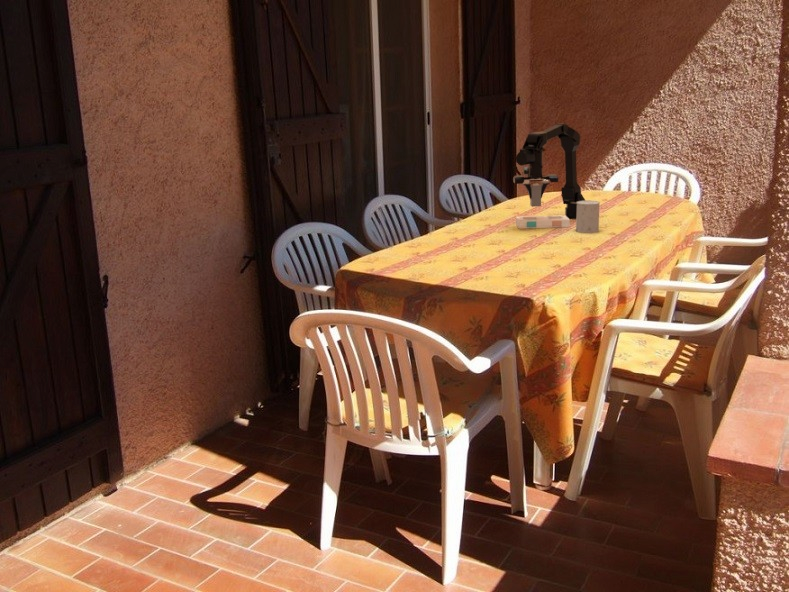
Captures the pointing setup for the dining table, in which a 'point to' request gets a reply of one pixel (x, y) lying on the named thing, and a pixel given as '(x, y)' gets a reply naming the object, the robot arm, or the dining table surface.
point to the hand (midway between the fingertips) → (535, 198)
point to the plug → (535, 195)
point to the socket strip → (542, 221)
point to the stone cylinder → (587, 216)
